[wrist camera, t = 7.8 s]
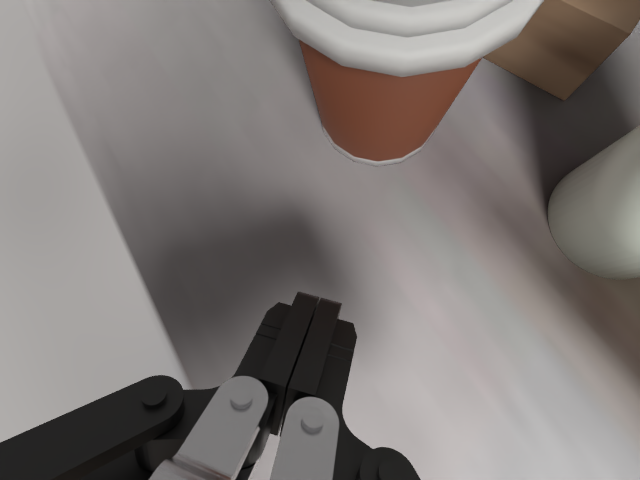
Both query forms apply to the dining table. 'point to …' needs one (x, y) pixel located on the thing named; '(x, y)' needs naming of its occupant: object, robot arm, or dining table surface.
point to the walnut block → (567, 42)
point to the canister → (601, 211)
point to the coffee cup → (394, 64)
